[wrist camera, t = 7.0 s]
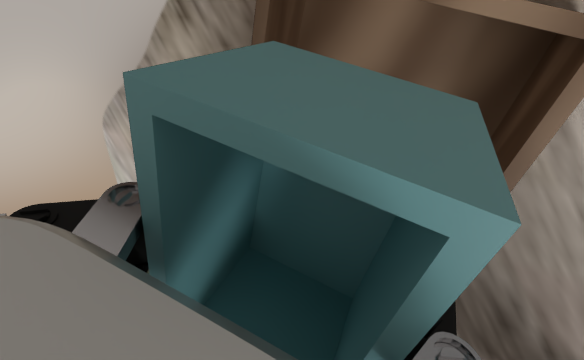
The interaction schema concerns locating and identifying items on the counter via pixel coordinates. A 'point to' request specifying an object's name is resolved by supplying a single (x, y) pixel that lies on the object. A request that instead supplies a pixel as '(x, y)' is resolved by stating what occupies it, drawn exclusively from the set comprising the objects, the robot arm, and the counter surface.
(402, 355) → the box
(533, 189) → the counter surface
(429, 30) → the crate large
